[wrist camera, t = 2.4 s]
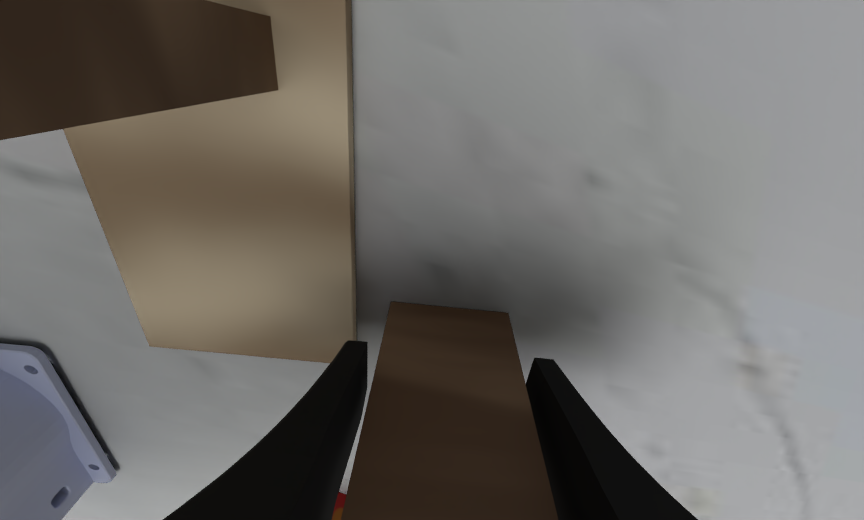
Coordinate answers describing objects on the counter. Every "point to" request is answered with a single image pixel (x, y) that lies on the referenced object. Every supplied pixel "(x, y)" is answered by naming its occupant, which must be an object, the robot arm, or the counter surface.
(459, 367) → the domino
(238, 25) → the domino
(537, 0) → the counter surface
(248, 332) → the light wooden board
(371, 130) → the counter surface
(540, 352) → the counter surface
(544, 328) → the counter surface
